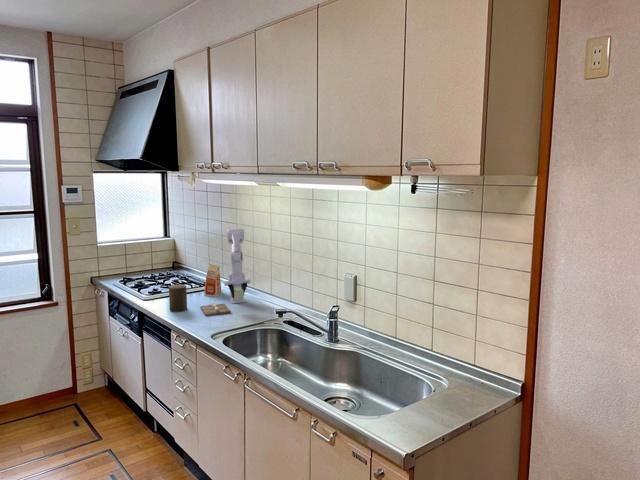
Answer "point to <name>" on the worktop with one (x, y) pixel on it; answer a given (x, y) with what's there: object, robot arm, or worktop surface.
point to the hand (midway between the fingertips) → (237, 296)
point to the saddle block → (238, 294)
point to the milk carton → (213, 281)
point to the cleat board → (212, 312)
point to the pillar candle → (177, 298)
